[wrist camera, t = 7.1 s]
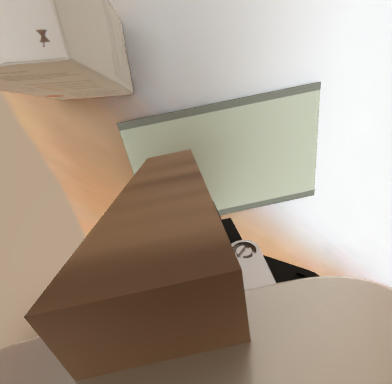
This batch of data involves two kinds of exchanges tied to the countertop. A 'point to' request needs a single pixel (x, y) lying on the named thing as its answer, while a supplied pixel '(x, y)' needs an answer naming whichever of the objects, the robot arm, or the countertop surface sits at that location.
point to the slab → (147, 279)
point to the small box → (62, 49)
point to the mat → (239, 145)
